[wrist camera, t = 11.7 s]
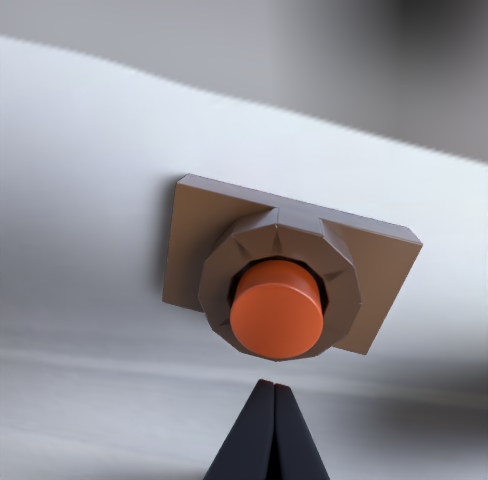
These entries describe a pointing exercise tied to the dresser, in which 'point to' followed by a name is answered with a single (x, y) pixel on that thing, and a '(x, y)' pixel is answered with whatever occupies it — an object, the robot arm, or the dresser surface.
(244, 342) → the button
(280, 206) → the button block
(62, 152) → the dresser surface
